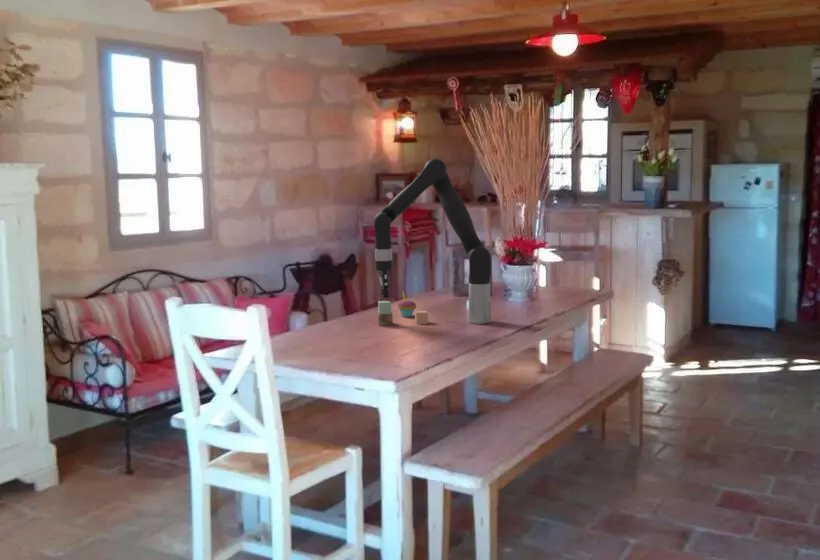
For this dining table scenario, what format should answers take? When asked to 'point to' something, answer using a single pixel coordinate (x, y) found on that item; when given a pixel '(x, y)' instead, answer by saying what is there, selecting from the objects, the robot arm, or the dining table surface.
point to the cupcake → (406, 307)
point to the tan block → (421, 317)
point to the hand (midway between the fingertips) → (384, 296)
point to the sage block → (384, 307)
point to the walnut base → (385, 319)
